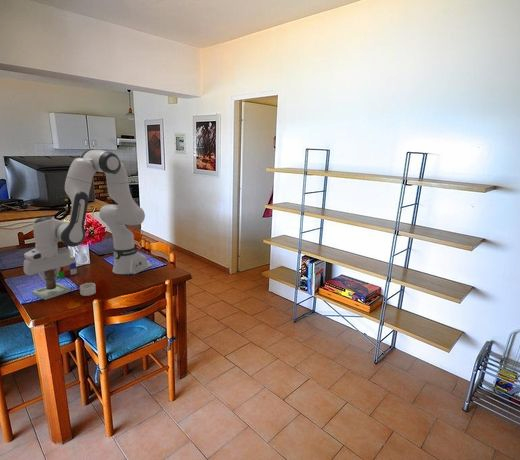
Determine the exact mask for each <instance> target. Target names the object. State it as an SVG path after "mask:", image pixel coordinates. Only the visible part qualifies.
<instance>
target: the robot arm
mask: <svg viewBox="0 0 520 460" xmlns="http://www.w3.org/2000/svg"><path fill="white" fill-rule="evenodd" d="M97 172H98V173H104V175H105V178H106V179H105V180H106V186H107V193H108V194H107V195H108V197H109V198H110V199H111V200H113V201H114V202H115V203H116V204H105V205H103V206H102V207H101V208H100V209H99V218H100V220H101V221H102V222H103V223H104V224H105V225H106V226H107V227H108V228H109V230H110V232H111V235H112V242H113V243H112V244H113V249H112V250H113V253H112V254H113V258H114V259H113V267H112V273H113V274H116V275H128V274H129V275H136V274H138V273H140V272H143V271H144V270H146V269H149V268H151V267H152V264H151V263H150V262H149V261H148V259H147V257H146V255H144V254H142V253H141V252H139V251H140V250H141V246H138V245H137V246H136V245H135V236H134V233H133V232H132V231H131V230H130V229H128V228H127V227H126V226H137V225H142V224H143V222H144V221H145V217H146V214H145V211H144V209H143V208H141V207H140V206H139V205H138V204H137V203H136V201H135V200H134V198H133V197H132V194H131V189H130V183H129V177H128V176H129V175H128V172H127V169H126V166H125V164H124V163H123V162H122V161H121V160H120V158H119V157H118V155H117V154H115V153H113V152H111V151H107V150H103V149H87V150H84V151H83V152H82V154H81V156H79V157H77V158H75V159H73V160H72V162H71V164H70V166H69V168H68V171H67V174H66V178H65V182H64V191H65V194H66V195H67V196H68V199H70V201H71V211H70V215H69V216H70V217H69V221H65V220H64V221H63V220H59V219H56V218H54V217H52V216H43V217H39V218H36V220H35V221H34V222H33V237H34V241H35V244H34V245H35V248H34V247H33V249H31V250H28V251H26V252H25V253H24V254H23V256H24V258H25V259H24V261H23V273H24V274H25V275H27V276H33V275H36V274H37V275H39V276H40V277H41V280H42V281H46V280H47V277H46V276H45V271H48V270H51V269H56V271H55V278H57V277H58V273H59V271H60V267H63V266H67V265H70V264H71V257H70V254H71V251H70V249H69V247H71V248H74V247H78V246H80V245H81V244H82V243H83V242H84V241H85V239H86V229H85V222H86V218H87V211H88V206H89V198H90V197H89V196H90V190H91V187H92V182H93V178H94V175H95V174H96V173H97ZM59 242H62V243H63V245H66V246H64V247H59V248H58V243H59Z"/></svg>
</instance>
